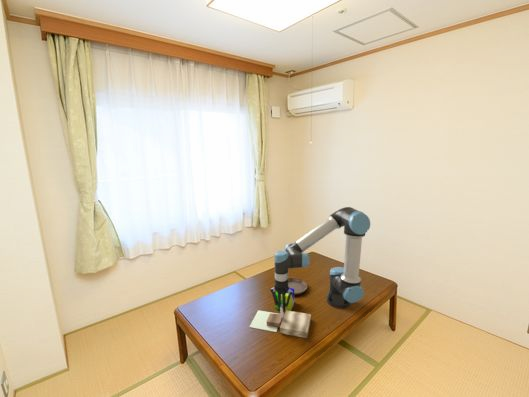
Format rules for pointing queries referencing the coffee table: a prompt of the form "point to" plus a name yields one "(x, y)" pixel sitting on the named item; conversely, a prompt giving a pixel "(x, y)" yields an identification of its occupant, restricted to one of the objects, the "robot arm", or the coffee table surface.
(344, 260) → the robot arm
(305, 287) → the plant saucer
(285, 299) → the puzzle toy
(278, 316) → the walnut tile
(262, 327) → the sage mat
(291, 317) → the plate
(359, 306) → the coffee table surface
